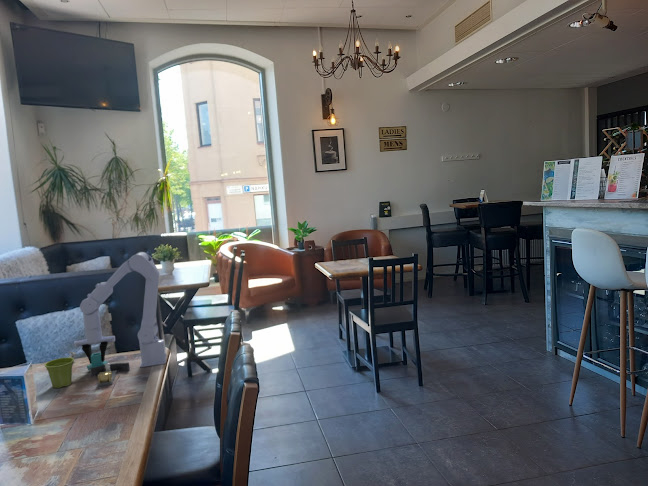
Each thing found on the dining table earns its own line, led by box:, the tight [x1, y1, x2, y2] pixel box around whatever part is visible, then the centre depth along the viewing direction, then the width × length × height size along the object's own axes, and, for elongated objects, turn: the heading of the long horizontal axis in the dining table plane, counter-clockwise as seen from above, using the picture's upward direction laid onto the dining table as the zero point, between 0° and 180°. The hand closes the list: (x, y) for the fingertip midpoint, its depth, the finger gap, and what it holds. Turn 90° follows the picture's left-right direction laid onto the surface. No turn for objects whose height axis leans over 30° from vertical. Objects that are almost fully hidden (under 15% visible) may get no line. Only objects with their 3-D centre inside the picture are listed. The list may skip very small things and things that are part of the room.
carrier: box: [89, 361, 131, 387], centre depth 181 cm, size 14×15×5 cm
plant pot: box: [44, 356, 75, 389], centre depth 177 cm, size 9×9×9 cm
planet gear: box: [86, 351, 109, 371], centre depth 191 cm, size 8×8×5 cm
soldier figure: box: [68, 351, 78, 360], centre depth 199 cm, size 8×5×12 cm
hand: (97, 361), depth 191 cm, fingers closed on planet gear, 4 cm apart
